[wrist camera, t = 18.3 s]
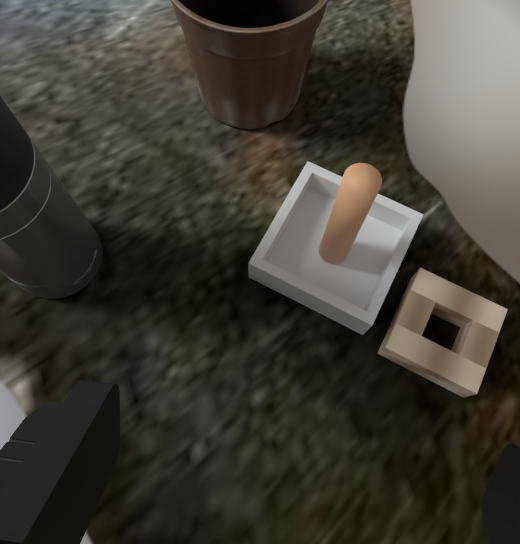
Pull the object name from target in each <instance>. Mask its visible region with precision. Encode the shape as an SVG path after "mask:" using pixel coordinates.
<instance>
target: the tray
mask: <svg viewBox="0 0 520 544" xmlns="http://www.w3.org/2000/svg"><path fill="white" fill-rule="evenodd" d="M342 178H343V177H341V176H338V175H336V174H334V173H332V172H330V171H328V170H325V169H323V168H321V167H319V166H317V165H315V164H312V163H310V162H308V161H307V163H306V165H305V167H304V168H303V170H302V172H301V174H300V175H299V177H298V179H297V180H296V182H295V184H294V186H293V187H292V189H291V191H290V192H289V194H288V196H287V198H286V199H285V201H284V203H283V205H282V206H281V208H280V210H279V211H278V213H277V215H276V217H275V218H274V220H273V222H272V223H271V225H270V227H269V229H268V230H267V232H266V234H265V235H264V237H263V239H262V241H261V242H260V244H259V246H258V248H257V249H256V251H255V253H254V254H253V256H252V258H251V260H250V261H249V263H248V272H249V278H251V279H253V280H255V281H257V282H259V283H261V284H263V285H265V286H267V287H269V288H271V289H273V290H275V291H277V292H279V293H281V294H283V295H285V296H287V297H289V298H291V299H293V300H295V301H296V302H298V303H300V304H302V305H304V306H306V307H308V308H310V309H312V310H314V311H316V312H318V313H320V314H322V315H324V316H326V317H328V318H330V319H332V320H334V321H336V322H338V323H340V324H342V325H344V326H346V327H348V328H350V329H352V330H353V331H355V332H357V333H359V334H361V335H364V334H365V333H366V332H367V331H368V330H369V329H370V328H371V326H372V325H373V323H374V321H375V319H376V317H377V314H378V312H379V310H380V308H381V306H382V304H383V301H384V299H385V297H386V295H387V293H388V291H389V288H390V286H391V284H392V282H393V280H394V277H395V275H396V273H397V271H398V269H399V267H400V264H401V262H402V260H403V258H404V256H405V254H406V251H407V249H408V247H409V245H410V243H411V240H412V238H413V236H414V234H415V232H416V230H417V227H418V225H419V223H420V221H421V219H422V217H423V214H421V213H419V212H417V211H415V210H412V209H410V208H408V207H406V206H404V205H402V204H399V203H397V202H395V201H393V200H391V199H389V198H386V197H384V196H382V195H380V194H377V196H376V198H375V200H374V202H373V204H372V206H371V208H370V210H369V212H368V214H367V216H366V218H365V220H364V222H363V224H362V226H361V228H360V230H359V232H358V234H357V236H356V239H355V241H354V243H353V245H352V247H351V249H350V251H349V253H348V255H347V257H346V258H345V260H344V261H343V262H341V263H339V264H330V263H327V262H325V261H324V260H323V259H322V258H321V256H320V254H319V246H320V243H321V240H322V237H323V234H324V231H325V228H326V225H327V223H328V220H329V217H330V214H331V211H332V208H333V205H334V202H335V199H336V196H337V193H338V190H339V187H340V184H341V181H342Z"/></svg>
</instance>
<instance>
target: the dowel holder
mask: <svg viewBox="0 0 520 544" xmlns="http://www.w3.org/2000/svg"><path fill="white" fill-rule="evenodd" d="M507 310H508V309H506V308H504V307H502V306H500V305H498V304H495V303H493V302H491V301H489V300H487V299H485V298H483V297H481V296H479V295H477V294H475V293H472V292H470V291H468V290H466V289H464V288H462V287H460V286H458V285H456V284H454V283H451V282H449V281H447V280H445V279H443V278H441V277H439V276H437V275H435V274H433V273H431V272H428V271H426V270H424V269H422V268H420V269H419V270H418V271H417V272H416V273H415V274H414V275H413V276H412V277H411V279H410V281H409V284H408V286H407V288H406V290H405V293H404V295H403V297H402V299H401V301H400V304H399V306H398V308H397V310H396V313H395V315H394V317H393V319H392V322H391V324H390V326H389V328H388V331H387V333H386V335H385V337H384V340H383V342H382V344H381V346H380V349H379V351H378V353H377V354H379V355H381V356H383V357H385V358H387V359H389V360H391V361H393V362H395V363H397V364H399V365H401V366H403V367H405V368H407V369H409V370H411V371H413V372H415V373H416V374H418V375H420V376H422V377H424V378H426V379H428V380H430V381H432V382H434V383H436V384H438V385H440V386H442V387H444V388H446V389H448V390H450V391H452V392H454V393H456V394H457V395H459V396H461V397H467V396H471V395H476V394H477V393H478V390H479V388H480V385H481V382H482V379H483V377H484V374H485V371H486V368H487V365H488V363H489V360H490V357H491V354H492V352H493V349H494V346H495V343H496V341H497V338H498V335H499V332H500V329H501V327H502V324H503V321H504V318H505V316H506V313H507ZM431 313H432V314H434V315H436V316H438V317H440V318H442V319H444V320H446V321H448V322H450V323H452V324H454V325H456V326H458V327H460V330H459V332H458V335H457V337H456V340H455V342H454V345H453V348H452V350H451V351H450V350H448V349H446V348H444V347H442V346H440V345H438V344H436V343H434V342H432V341H430V340H428V339H426V338H424V337H422V334H423V331H424V329H425V327H426V324H427V322H428V320H429V317H430V315H431Z"/></svg>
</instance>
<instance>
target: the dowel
mask: <svg viewBox="0 0 520 544" xmlns="http://www.w3.org/2000/svg"><path fill="white" fill-rule="evenodd" d="M381 185H382V177H381V175H380V173H379V171H378V170H377V169H376V168H375V167H373V166H371V165H369V164H366V163H356V164H353V165H351V166H349V167H348V168H347V169H346V171H345V173H344V175H343V178H342V181H341V184H340V187H339V190H338V193H337V196H336V199H335V202H334V205H333V208H332V211H331V214H330V217H329V220H328V223H327V225H326V228H325V231H324V234H323V237H322V240H321V243H320V246H319V254H320V256H321V258H322V259H323V260H324V261H325V262H327V263H330V264H339V263H341V262H343V261H344V260H345V258H346V257H347V255H348V253H349V251H350V249H351V247H352V245H353V243H354V241H355V239H356V236H357V234H358V232H359V230H360V228H361V226H362V224H363V222H364V220H365V218H366V216H367V214H368V212H369V210H370V208H371V206H372V204H373V202H374V200H375V198H376V196H377V194H378V192H379V190H380V188H381Z"/></svg>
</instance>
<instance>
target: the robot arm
mask: <svg viewBox="0 0 520 544" xmlns="http://www.w3.org/2000/svg"><path fill="white" fill-rule="evenodd" d="M102 254H103V250H102V243H101V241H100V238H99V236H98V234H97V233H96V231H95V230H94V228H93V227H92V226H91V224H90V223H89V221H88V220H87V218H86V217H85V215H84V214H83V212H82V211H81V209H80V208H79V207H78V205H77V204H76V202H75V201H74V199H73V198H72V197H71V195H70V194H69V192H68V191H67V189H66V188H65V187H64V185H63V184H62V182H61V181H60V179H59V178H58V177H57V175H56V174H55V172H54V171H53V170H52V168H51V167H50V165H49V164H48V162H47V161H46V160H45V158H44V157H43V156H42V154H41V153H40V151H39V150H38V148H37V147H36V146H35V144H34V143H33V141H32V140H31V138H30V137H29V136H28V134H27V133H26V131H25V130H24V129H23V127H22V126H21V125H20V123H19V122H18V120H17V119H16V118H15V116H14V115H13V113H12V112H11V111H10V109H9V108H8V106H7V105H6V104H5V102H4V101H3V99H2V98H1V96H0V272H1V273H2V274H4V275H5V276H7V277H8V278H9V279H10V280H12V281H13V282H15V283H16V284H17V285H19V286H20V287H22V288H23V289H24V290H26V291H27V292H29V293H31V294H33V295H34V296H38V297H41V298H47V299H56V298H63V297H67V296H70V295H73V294H74V293H76V292H78V291H80V290H82V289H83V288H84V287H85V286H86V285H88V284H89V283H90V282H91V280H92V279H93V278H94V277H95V275H96V274H97V272H98V270H99V268H100V265H101V262H102ZM119 446H120V395H119V387H118V385H116V384H109V383H102V382H95V381H89V380H80V381H79V382H78V383H77V384H76V385H75V387H74V388H73V389H72V391H71V392H70V394H69V395H68V397H67V398H66V400H65V401H64V403H59V402H52V401H49V402H47V403H46V404H44V405H43V406H41V407H40V408H38V409H37V410H35V411H34V412H33V413H31V414H30V415H28V416H27V417H26V418H25V419H24V420H23V421H22V423H21V424H20V425H19V427H18V428H17V429H16V431H15V432H14V433H13V435H12V436H11V437H10V441H9V442H7V443H6V444H5V445H4V446H3V448H2V449H1V450H0V544H80V542H81V540H82V538H83V536H84V534H85V532H86V529H87V527H88V525H89V523H90V521H91V518H92V516H93V514H94V512H95V510H96V507H97V505H98V503H99V501H100V499H101V496H102V494H103V492H104V490H105V488H106V486H107V483H108V481H109V479H110V477H111V475H112V472H113V470H114V467H115V464H116V461H117V457H118V452H119ZM482 519H483V525H484V528H485V531H486V534H487V536H488V539H489V542H490V544H520V444H515V443H509V444H508V445H506V446H505V448H504V450H503V452H502V454H501V456H500V459H499V461H498V463H497V466H496V468H495V470H494V472H493V475H492V477H491V479H490V482H489V484H488V486H487V489H486V491H485V493H484V496H483V500H482Z"/></svg>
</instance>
